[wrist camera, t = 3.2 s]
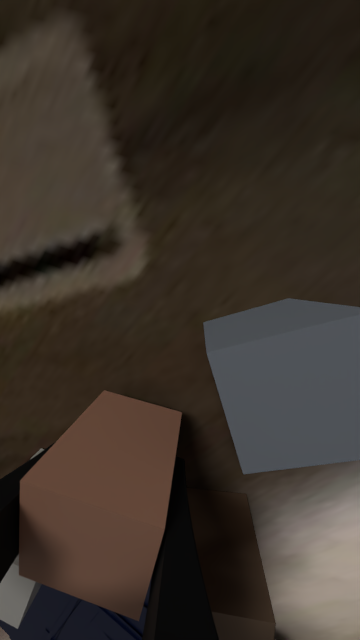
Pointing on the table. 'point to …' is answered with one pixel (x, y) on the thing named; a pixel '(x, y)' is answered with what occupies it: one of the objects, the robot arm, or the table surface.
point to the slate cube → (289, 383)
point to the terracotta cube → (101, 503)
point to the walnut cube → (231, 565)
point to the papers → (74, 620)
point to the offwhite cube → (16, 593)
